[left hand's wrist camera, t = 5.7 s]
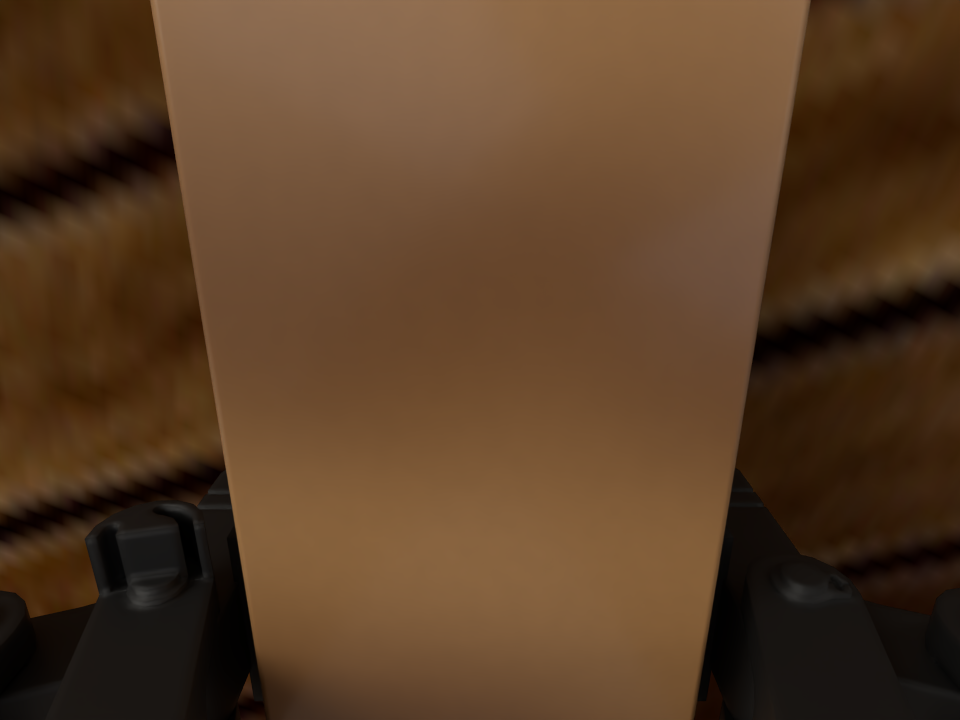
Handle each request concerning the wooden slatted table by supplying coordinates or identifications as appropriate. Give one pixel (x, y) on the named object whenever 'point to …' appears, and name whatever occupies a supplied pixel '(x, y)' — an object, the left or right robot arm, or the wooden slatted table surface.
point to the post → (480, 334)
